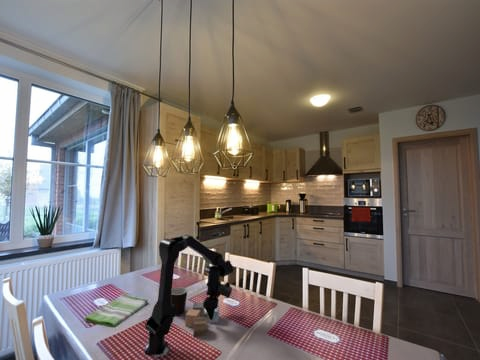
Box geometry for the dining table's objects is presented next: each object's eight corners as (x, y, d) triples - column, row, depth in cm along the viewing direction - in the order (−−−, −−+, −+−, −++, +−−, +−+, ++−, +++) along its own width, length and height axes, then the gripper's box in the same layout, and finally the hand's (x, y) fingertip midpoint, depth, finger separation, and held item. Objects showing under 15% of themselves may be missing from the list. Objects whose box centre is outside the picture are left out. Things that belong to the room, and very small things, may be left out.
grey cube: (217, 323, 103) (217, 311, 103) (206, 322, 103) (207, 311, 104) (219, 317, 108) (219, 306, 108) (208, 316, 108) (208, 305, 109)
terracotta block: (196, 327, 99) (196, 316, 99) (185, 326, 100) (185, 314, 100) (200, 321, 104) (200, 310, 104) (189, 320, 105) (190, 309, 105)
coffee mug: (182, 317, 107) (182, 295, 107) (165, 315, 109) (165, 293, 109) (192, 305, 118) (192, 286, 119) (176, 303, 120) (177, 284, 120)
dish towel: (148, 303, 120) (149, 297, 121) (114, 328, 98) (115, 320, 98) (121, 299, 125) (122, 292, 125) (83, 322, 103) (83, 314, 103)
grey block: (203, 318, 107) (203, 307, 107) (192, 318, 106) (192, 307, 107) (204, 312, 112) (204, 302, 112) (193, 313, 111) (194, 302, 112)
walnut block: (205, 335, 94) (206, 323, 94) (193, 336, 93) (193, 324, 93) (205, 328, 99) (206, 316, 99) (194, 329, 98) (194, 317, 98)
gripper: (229, 288, 97) (228, 326, 96) (232, 273, 116) (231, 304, 115) (203, 287, 97) (202, 325, 97) (210, 272, 116) (209, 304, 115)
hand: (213, 314), depth 106 cm, fingers open, 9 cm apart
